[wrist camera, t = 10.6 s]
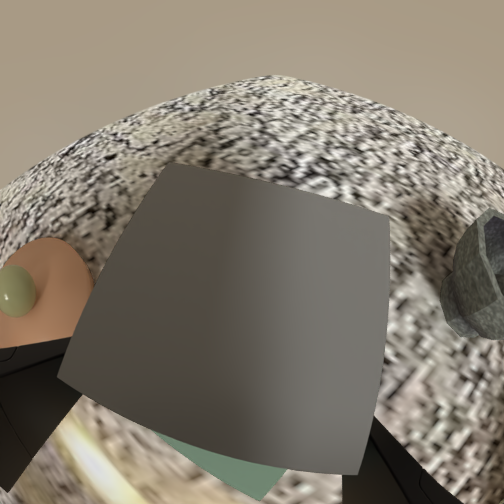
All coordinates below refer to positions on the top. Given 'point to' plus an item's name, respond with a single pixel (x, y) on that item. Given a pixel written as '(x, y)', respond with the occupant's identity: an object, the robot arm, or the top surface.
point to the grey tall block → (241, 321)
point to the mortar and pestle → (477, 280)
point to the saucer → (42, 292)
